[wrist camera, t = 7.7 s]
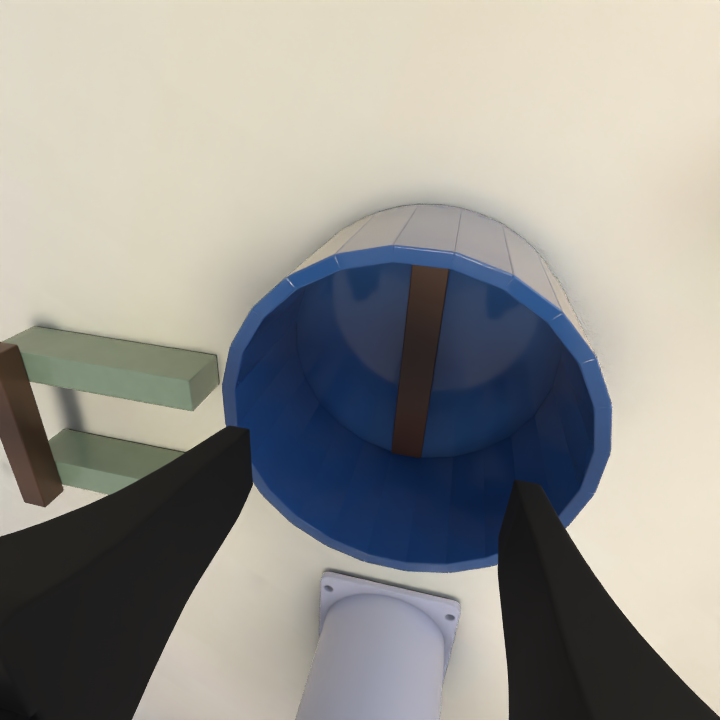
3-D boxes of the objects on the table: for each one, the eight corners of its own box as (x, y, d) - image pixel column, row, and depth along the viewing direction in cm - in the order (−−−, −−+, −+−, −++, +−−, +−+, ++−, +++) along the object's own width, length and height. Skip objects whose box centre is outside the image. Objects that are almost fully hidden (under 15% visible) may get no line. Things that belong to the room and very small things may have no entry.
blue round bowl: (532, 477, 22) (552, 604, 16) (293, 433, 24) (235, 533, 18) (609, 220, 16) (679, 277, 11) (290, 189, 18) (205, 223, 12)
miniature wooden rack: (229, 483, 26) (206, 516, 24) (70, 450, 28) (36, 478, 26) (216, 354, 22) (188, 380, 20) (34, 325, 24) (-10, 346, 22)
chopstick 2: (424, 440, 21) (421, 458, 20) (395, 435, 22) (390, 453, 20) (453, 246, 17) (451, 255, 16) (417, 242, 17) (413, 251, 16)
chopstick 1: (64, 490, 26) (45, 507, 24) (43, 485, 26) (23, 502, 25) (18, 344, 21) (-8, 356, 20) (-7, 340, 22) (-33, 352, 20)
